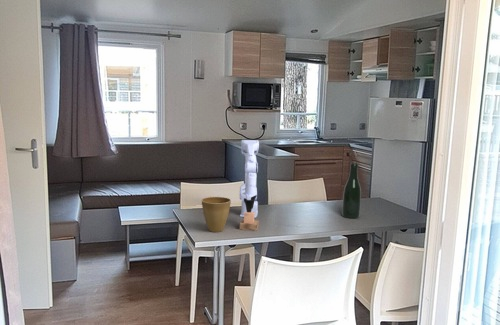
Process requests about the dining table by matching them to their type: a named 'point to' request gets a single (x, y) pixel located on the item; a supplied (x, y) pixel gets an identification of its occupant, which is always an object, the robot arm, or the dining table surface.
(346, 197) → the green glass bottle
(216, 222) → the plant pot
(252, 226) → the tan square slab
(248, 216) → the terracotta cube
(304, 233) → the dining table surface
